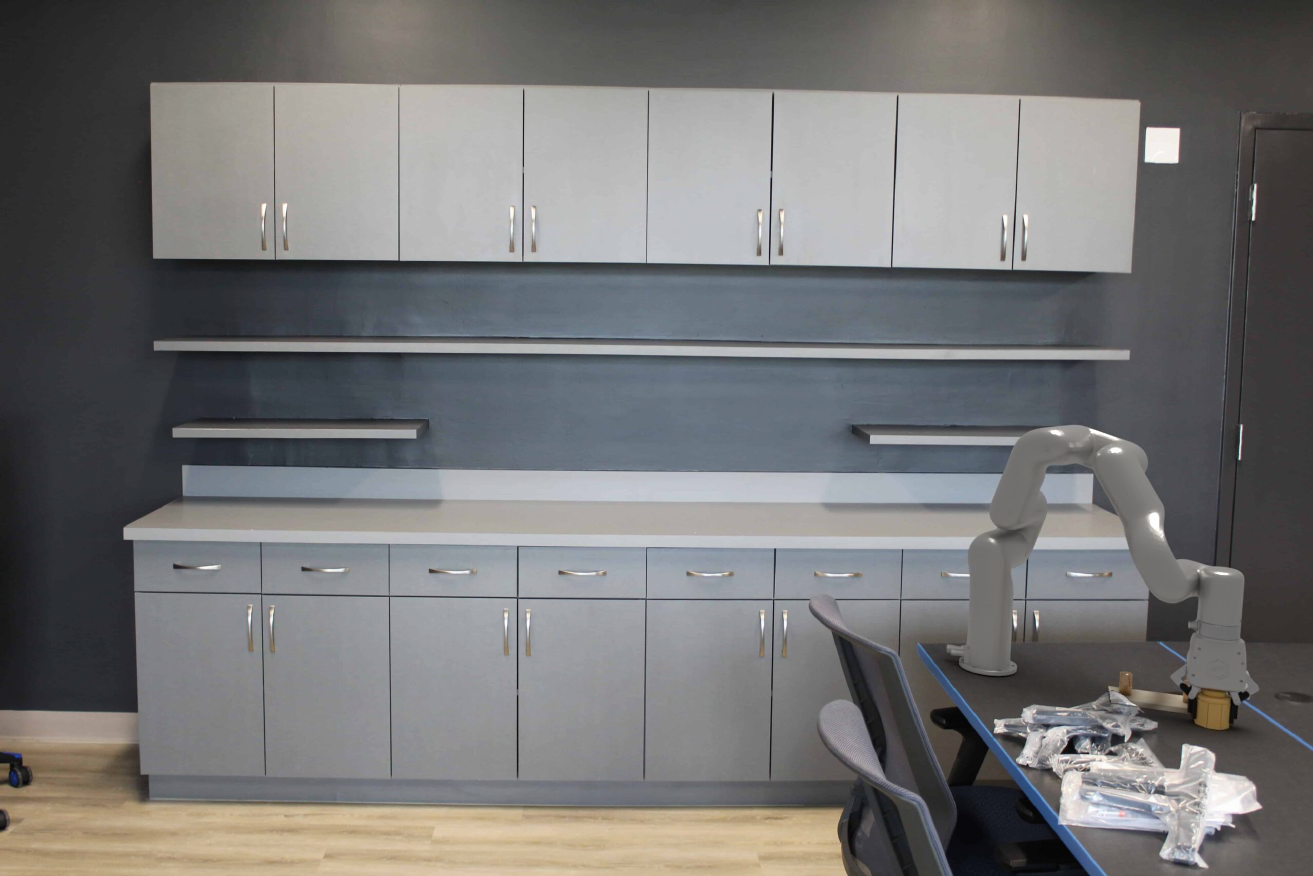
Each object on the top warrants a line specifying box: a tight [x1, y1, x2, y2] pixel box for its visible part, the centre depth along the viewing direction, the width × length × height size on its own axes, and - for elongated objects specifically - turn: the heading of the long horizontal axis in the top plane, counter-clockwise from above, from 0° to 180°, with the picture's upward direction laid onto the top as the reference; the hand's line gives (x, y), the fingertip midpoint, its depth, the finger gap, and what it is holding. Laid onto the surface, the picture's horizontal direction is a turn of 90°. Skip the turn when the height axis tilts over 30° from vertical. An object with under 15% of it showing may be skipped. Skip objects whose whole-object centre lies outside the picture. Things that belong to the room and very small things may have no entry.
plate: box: [1107, 685, 1190, 715], centre depth 207 cm, size 18×8×1 cm, turn 69°
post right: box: [1182, 678, 1190, 704], centre depth 205 cm, size 2×2×4 cm
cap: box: [1193, 688, 1231, 731], centre depth 196 cm, size 6×6×7 cm
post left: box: [1118, 670, 1134, 696], centre depth 209 cm, size 2×2×4 cm
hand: (1211, 718), depth 196 cm, fingers closed on cap, 5 cm apart
